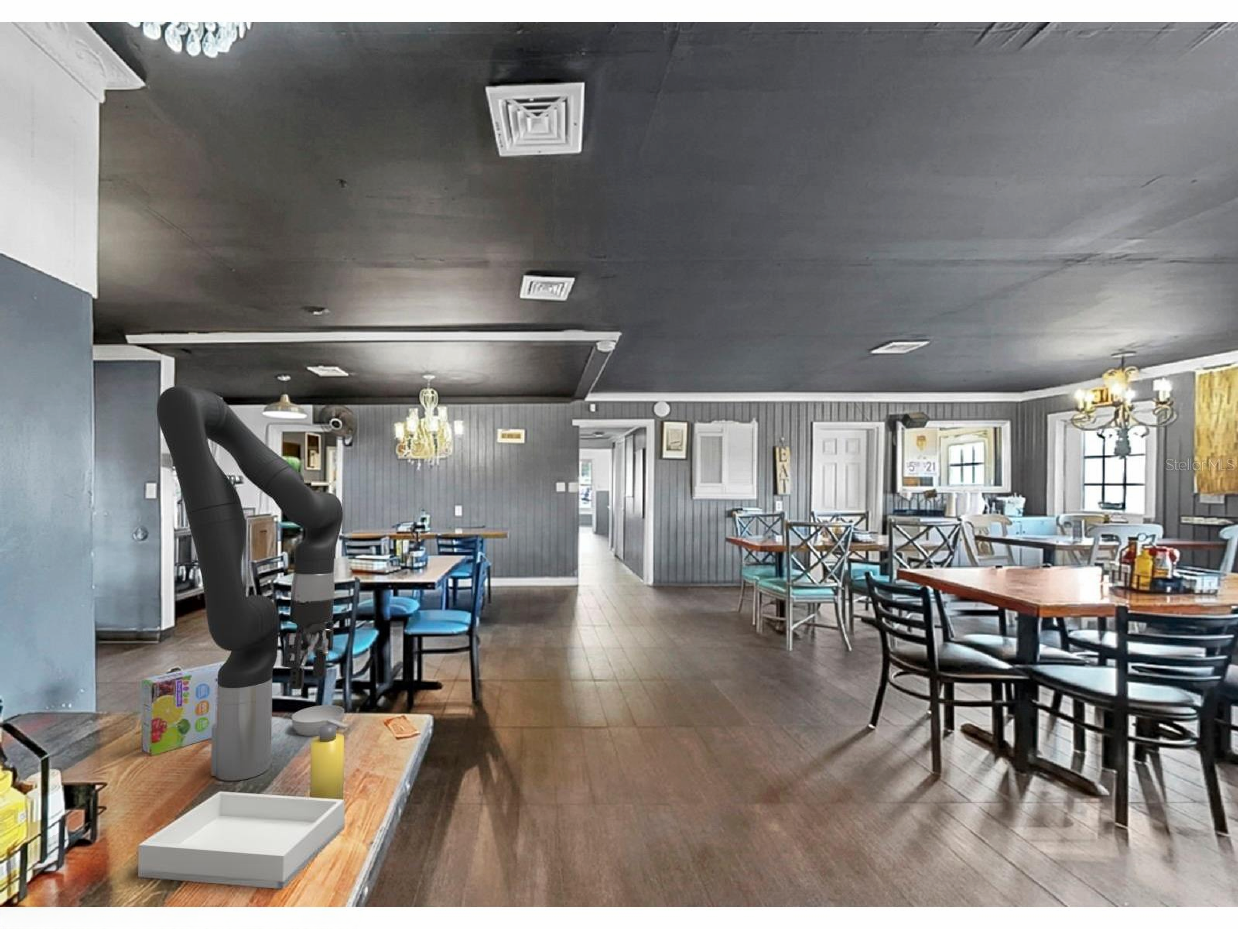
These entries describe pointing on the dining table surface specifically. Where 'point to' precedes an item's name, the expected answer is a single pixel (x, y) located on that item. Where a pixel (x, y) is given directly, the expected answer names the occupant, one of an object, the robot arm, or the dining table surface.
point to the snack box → (179, 708)
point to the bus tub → (243, 840)
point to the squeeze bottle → (327, 764)
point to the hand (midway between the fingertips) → (308, 682)
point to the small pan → (317, 719)
